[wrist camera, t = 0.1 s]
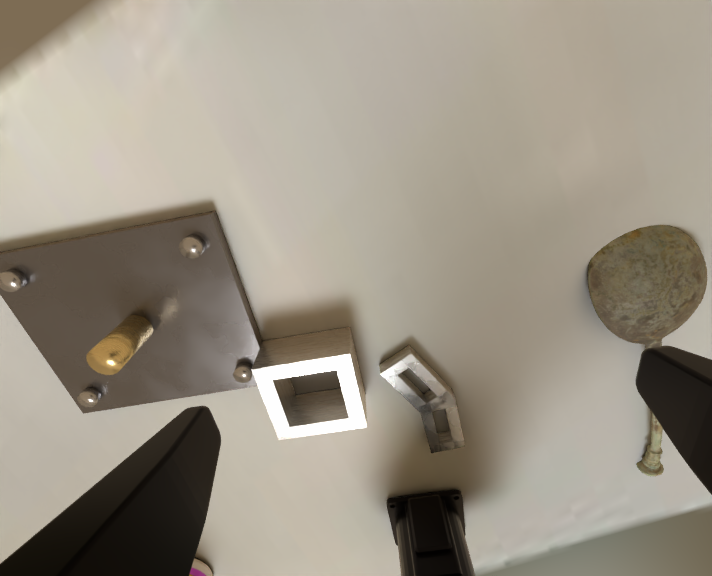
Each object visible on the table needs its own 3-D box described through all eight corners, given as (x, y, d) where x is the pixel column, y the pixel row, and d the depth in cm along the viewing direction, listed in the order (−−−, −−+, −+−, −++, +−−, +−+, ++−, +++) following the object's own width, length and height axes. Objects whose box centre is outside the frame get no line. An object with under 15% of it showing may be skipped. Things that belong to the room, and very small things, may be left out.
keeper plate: (274, 375, 26) (261, 422, 22) (90, 405, 26) (46, 455, 23) (215, 210, 20) (183, 233, 16) (-12, 254, 21) (-92, 285, 17)
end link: (365, 395, 26) (367, 427, 24) (286, 407, 27) (278, 440, 24) (349, 326, 24) (349, 353, 21) (262, 341, 24) (251, 369, 22)
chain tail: (461, 437, 28) (465, 448, 28) (395, 447, 29) (396, 457, 28) (453, 337, 24) (457, 346, 23) (376, 350, 25) (377, 359, 24)
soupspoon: (681, 202, 22) (567, 238, 23) (731, 215, 19) (597, 256, 20) (683, 451, 30) (600, 467, 31) (719, 488, 27) (625, 505, 28)
